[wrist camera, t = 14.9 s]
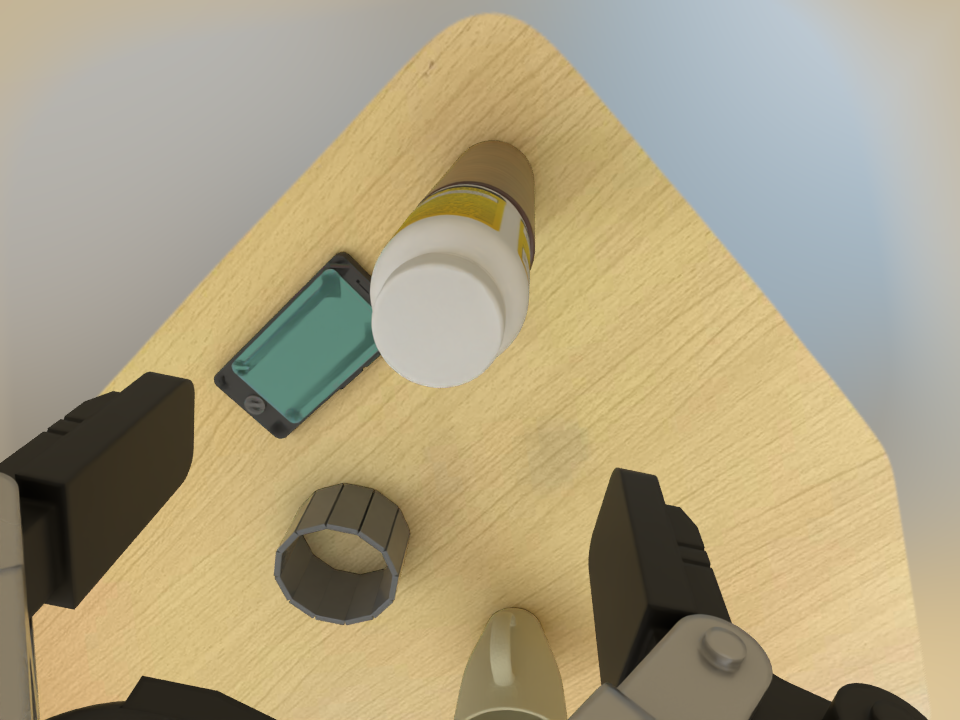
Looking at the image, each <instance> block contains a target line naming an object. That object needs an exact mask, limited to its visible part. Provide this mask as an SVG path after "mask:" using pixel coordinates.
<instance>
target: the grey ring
mask: <svg viewBox="0 0 960 720" xmlns="http://www.w3.org/2000/svg"><path fill="white" fill-rule="evenodd" d="M373 490H374V489H371V488H366V487H361V486H357V485H352V484H347V483H345V485H344V484H343V483H342V484H338V485H335V486H331V487H327V488H323V489H319V490H317V492H316V491H315V492H314V493H313V494H312V495H311V496H310V497H309V498H308V499H307V500H306V502H305V503H304V504H303V505H302V506H301V507H300V508H299V510H298V512H297V513H296V515H295V517H294V519H293V521H292V523H291V525H290V527H289V528H288V530H287V532H286V534H285V536H284V538H283V540H282V541H281V543H280V545H279V547H278V549H277V551H276V557H275V569H274V576H275V580H276V582H277V583H278V585H279V587H280V589H281V590H282V592H283V594H284V596H285V597H286V599H287V600H290V601H289V603H291V604H292V605H294V606H295V607H297V608H298V609H300V610H301V611H303V612H304V613H305V614H307V615H308V616H310V617H311V618H314V617H315V619H316V620H321V621H325V622H330V623H335V624H340V625H344V624H345V623H346V625H350V624H354V623H359V622H364V621H368V620H373V618H376V617H377V616H378V615H379V614H381V613H382V612H383V611H384V610H385V609H386V608H387V607H388V606H389V605H390V604H392V603H393V601H394V600H395V596H396V592H397V589H398V585H399V581H400V577H401V573H402V570H403V566H404V562H405V558H406V554H407V549H408V544H409V538H410V530H409V527H408V525H407V523H406V521H405V519H404V517H403V514H402V512H401V510H400V509H398V506H397V505H395V504H394V503H393V502H391V501H390V500H389V499H387V498H386V497H385V496H383V495H382V494H381V493H379V492H378V491H377V490H375V491H374V492H373ZM324 529H330V530H335V531H340V532H344V533H349V534H354V535H358V536H359V537H360V538H362V539H363V540H365V541H366V542H367V543H369V544H370V545H371V546H373V547H374V548H376V549H377V550H378V551H380V552H381V553H382V555H383V557H384V559H385V561H386V563H387V567H386V568H385V569H382V570H378V571H374V572H369V573H365V574H361V575H360V574H355V573H350V572H345V571H340V570H335V569H333V568H332V567H330V566H329V565H327V564H326V563H324V562H323V561H322V560H320V559H319V558H317V557H316V556H314V555H313V554H312V552H311V550H310V548H309V546H308V544H307V542H306V541H305V539H304V537H303V535H304V534H308V533H312V532H316V531H320V530H324Z"/></svg>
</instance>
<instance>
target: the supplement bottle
mask: <svg viewBox="0 0 960 720" xmlns="http://www.w3.org/2000/svg"><path fill="white" fill-rule="evenodd" d="M529 284H530V240H529V235H528V231H527V228H526V225H525V223H524V221H523V219H522V217H521V215H520V214H519V212H518V211H517V209H516V208H515V207H514V206H513V205H512V204H511V203H510V202H509V201H508V200H507V199H506V198H504V197H503V196H502V195H500V194H499V193H497V192H495V191H493V190H491V189H488V188H485V187H482V186H477V185H469V184H462V185H454V186H449V187H446V188H443V189H441V190H439V191H437V192H435V193H433V194H432V195H430V196H429V197H427V198H426V199H425V200H423V201H422V202H421V203H420V204H419V205H418V206H417V208H416V209H415V210H414V211H413V212H412V213H411V214H410V216H409V217H408V218H407V219H406V221H405V222H404V223H403V225H402V226H401V227H400V228H399V230H398V231H397V232H396V233H395V235H394V236H393V237H392V238H391V240H390V241H389V242H388V243H387V245H386V246H385V247H384V249H383V250H382V252H381V254H380V256H379V257H378V259H377V261H376V264H375V267H374V270H373V273H372V277H371V284H370V299H371V306H372V333H373V337H374V341H375V343H376V346H377V348H378V350H379V352H380V354H381V355H382V357H383V358H384V360H385V361H386V362H387V364H388V365H389V366H390V367H391V368H392V369H393V370H395V371H396V372H397V373H398V374H400V375H401V376H403V377H404V378H406V379H408V380H409V381H412V382H414V383H417V384H419V385H423V386H427V387H434V388H448V387H454V386H458V385H462V384H464V383H467V382H470V381H472V380H473V379H475V378H477V377H478V376H480V375H481V374H482V373H483V372H484V371H485V370H487V369H488V368H489V366H490V365H491V364H492V362H493V361H494V360H495V358H496V357H498V356H499V355H500V354H501V353H503V352H504V351H505V350H506V349H507V348H508V347H509V346H510V345H511V343H512V342H513V341H514V340H515V338H516V337H517V335H518V334H519V332H520V330H521V328H522V326H523V323H524V321H525V317H526V314H527V310H528V303H529Z"/></svg>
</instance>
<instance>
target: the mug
mask: <svg viewBox="0 0 960 720" xmlns="http://www.w3.org/2000/svg"><path fill="white" fill-rule="evenodd" d="M454 720H567V712H566V704H565V697H564V690H563V684H562V679H561V675H560V671H559V668H558V665H557V662H556V660H555V657H554V655H553V652H552V650H551V648H550V645H549V643H548V641H547V638H546V636H545V634H544V631H543V629H542V627H541V625H540V622H539V621H538V619H537V618H536V617H535V616H534V615H533V614H532V613H530V612H528V611H526V610H523V609H520V608H506V609H502V610H500V611H498V612H496V613H495V614H493V615H492V616H491V618H490V619H489V621H488V623H487V625H486V627H485V629H484V630H483V632H482V634H481V636H480V638H479V640H478V642H477V644H476V646H475V648H474V649H473V651H472V653H471V656H470V658H469V660H468V662H467V665H466V668H465V671H464V674H463V678H462V682H461V687H460V691H459V696H458V701H457V706H456V711H455V716H454Z"/></svg>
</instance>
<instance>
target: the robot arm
mask: <svg viewBox="0 0 960 720" xmlns="http://www.w3.org/2000/svg"><path fill="white" fill-rule="evenodd" d="M194 399H195V392H194V385H193V383H192V381H191V380H189V379H184V378H179V377H174V376H169V375H164V374H159V373H154V372H147V373H145V374H143V375H142V376H141V377H140V378H138V379H137V380H136V381H134V382H133V383H132V384H131V385H129V386H128V387H127V388H125V389H124V390H123V391H121V392H115V391H112V392H109V393H107V394H104V395H101V396H99V397H96V398H93V399H91V400H88V401H85V402H83V403H82V404H81V405H79V406H78V407H77V408H75V409H74V410H72V411H71V412H70V413H69V414H67V415H66V416H65V417H64V420H62V419H60V420H59V421H58V422H56V423H55V424H53V425H52V426H51V427H49V428H48V431H47V432H42V433H41V434H40V435H38V436H37V437H35V438H34V439H33V440H31V441H30V442H29V443H27V444H26V445H25V446H23V447H22V448H20V449H19V450H18V451H16V452H15V453H14V454H12V455H11V456H9V457H8V458H7V459H5V460H4V461H3V462H1V463H0V720H40V712H39V699H38V685H37V671H36V657H35V643H34V629H33V620H32V616H33V615H34V614H35V613H36V612H37V611H38V610H39V609H40V607H41V606H42V605H43V604H49V605H54V606H59V607H64V608H69V609H75V608H76V607H77V606H78V605H79V603H80V602H81V601H82V600H83V599H84V598H85V596H86V595H87V594H88V593H89V592H90V591H91V589H92V588H93V587H94V586H95V585H96V584H97V582H98V581H99V580H100V579H101V578H102V577H103V576H104V574H105V573H106V572H107V571H108V570H109V569H110V567H111V566H112V565H113V564H114V563H115V562H116V560H117V559H118V558H119V557H120V556H121V555H122V553H123V552H124V551H125V550H126V549H127V548H128V546H129V545H130V544H131V543H132V542H133V541H134V539H135V538H136V537H137V536H138V535H139V534H140V532H141V531H142V530H143V529H144V528H145V527H146V525H147V524H148V523H149V522H150V521H151V520H152V518H153V517H154V516H155V515H156V514H157V513H158V511H159V510H160V509H161V508H162V507H163V506H164V504H165V503H166V502H167V501H168V500H169V499H170V497H171V496H172V495H173V494H174V493H175V492H176V490H177V489H178V488H179V487H180V486H181V484H182V483H183V482H184V480H185V478H186V476H187V474H188V472H189V469H190V466H191V463H192V458H193V450H194ZM704 548H705V547H704V544H703V541H702V539H701V536H700V533H699V530H698V527H697V526H696V525H695V524H694V523H693V522H692V520H691V519H690V518H689V517H688V516H687V515H686V514H685V512H684V511H683V510H682V509H681V508H680V507H676V506H671V505H666V504H665V501H664V498H663V495H662V492H661V488H660V485H659V482H658V479H657V477H656V476H655V475H651V474H646V473H641V472H636V471H632V470H627V469H622V468H615V469H614V471H613V473H612V475H611V478H610V480H609V484H608V487H607V490H606V493H605V496H604V499H603V503H602V506H601V509H600V512H599V515H598V518H597V522H596V525H595V528H594V531H593V534H592V538H591V543H590V550H589V576H590V585H591V594H592V603H593V613H594V622H595V631H596V640H597V649H598V658H599V668H600V677H601V686H600V687H599V688H598V689H597V690H596V691H595V692H594V693H593V694H592V695H591V696H590V697H589V698H588V699H587V700H586V701H585V702H584V703H583V704H582V705H581V706H580V707H579V708H578V709H577V710H576V712H575V713H574V714H573V715H572V716H571V717H570V718H569V719H568V720H927V718H926V717H925V716H923V715H922V714H921V713H920V712H919V711H918V710H917V709H915V708H914V707H913V706H911V705H910V704H909V703H907V702H906V701H904V700H903V699H901V698H899V697H898V696H896V695H894V694H892V693H890V692H888V691H886V690H884V689H881V688H879V687H876V686H872V685H868V684H863V683H852V684H847V685H845V686H843V687H842V688H840V689H839V690H838V692H837V694H836V696H835V697H834V699H833V701H832V702H831V701H828V700H826V699H824V698H822V697H820V696H817V695H815V694H813V693H811V692H809V691H806V690H804V689H802V688H800V687H797V686H795V685H793V684H791V683H789V682H787V681H785V680H783V679H781V678H779V677H778V676H776V675H774V674H773V672H772V666H771V663H770V660H769V658H768V656H767V654H766V653H765V651H764V650H763V649H762V647H761V646H760V645H759V644H758V643H757V642H756V640H755V639H753V638H752V637H751V636H750V635H749V634H748V633H746V632H745V631H744V630H742V629H741V628H739V627H738V626H736V625H734V624H732V622H731V620H730V617H729V614H728V611H727V608H726V606H725V603H724V600H723V597H722V594H721V592H720V589H719V586H718V583H717V580H716V578H715V575H714V572H713V569H712V568H710V561H709V558H708V555H707V553H706V551H704ZM46 720H276V719H274V718H272V717H270V716H268V715H266V714H264V713H262V712H260V711H258V710H256V709H253V708H251V707H249V706H247V705H245V704H243V703H241V702H239V701H237V700H235V699H233V698H231V697H229V696H227V695H225V694H223V693H221V692H219V691H215V690H210V689H205V688H200V687H195V686H190V685H185V684H180V683H176V682H171V681H166V680H161V679H156V678H151V677H146V676H142V677H141V679H140V680H139V682H138V683H137V685H136V686H135V688H134V689H133V691H132V692H131V694H130V695H129V697H128V698H127V700H126V701H119V702H110V703H103V704H96V705H92V706H87V707H83V708H79V709H75V710H72V711H68V712H65V713H62V714H59V715H56V716H53V717H51V718H48V719H46Z"/></svg>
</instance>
